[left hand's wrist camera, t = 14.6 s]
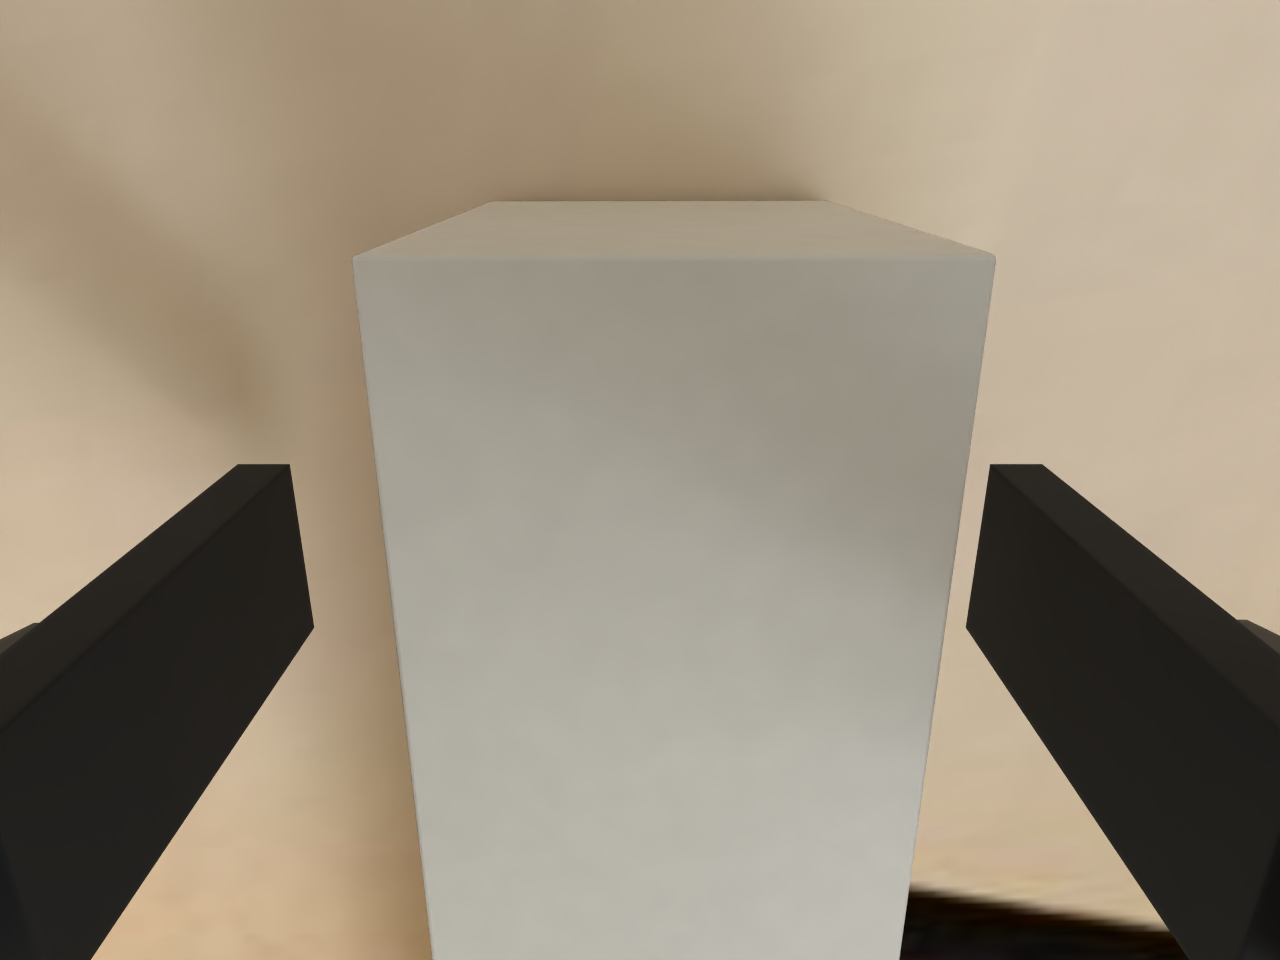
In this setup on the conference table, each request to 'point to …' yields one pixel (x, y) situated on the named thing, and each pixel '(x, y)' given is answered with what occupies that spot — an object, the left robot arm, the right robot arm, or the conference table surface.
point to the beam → (669, 566)
